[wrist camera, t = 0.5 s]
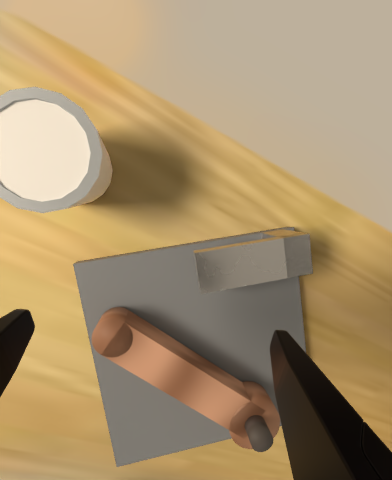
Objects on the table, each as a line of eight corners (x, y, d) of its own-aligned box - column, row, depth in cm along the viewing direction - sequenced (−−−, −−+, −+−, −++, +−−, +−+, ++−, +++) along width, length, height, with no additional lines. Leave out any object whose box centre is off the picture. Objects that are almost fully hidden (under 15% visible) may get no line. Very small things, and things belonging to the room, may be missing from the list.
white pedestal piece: (19, 191, 21) (-49, 183, 14) (49, 110, 21) (-5, 62, 14) (102, 224, 22) (76, 231, 16) (133, 147, 22) (119, 120, 15)
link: (277, 395, 25) (299, 431, 21) (249, 433, 25) (266, 476, 21) (118, 293, 22) (108, 312, 18) (87, 335, 22) (70, 364, 18)
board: (307, 410, 27) (312, 417, 26) (118, 456, 25) (116, 467, 24) (288, 226, 25) (293, 227, 24) (77, 261, 22) (73, 264, 21)
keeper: (286, 262, 24) (312, 273, 20) (193, 278, 23) (200, 294, 19) (283, 229, 23) (309, 233, 19) (188, 244, 23) (194, 253, 18)
